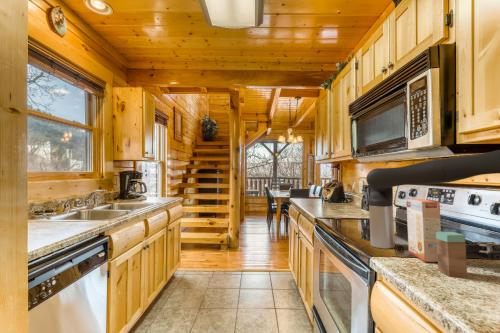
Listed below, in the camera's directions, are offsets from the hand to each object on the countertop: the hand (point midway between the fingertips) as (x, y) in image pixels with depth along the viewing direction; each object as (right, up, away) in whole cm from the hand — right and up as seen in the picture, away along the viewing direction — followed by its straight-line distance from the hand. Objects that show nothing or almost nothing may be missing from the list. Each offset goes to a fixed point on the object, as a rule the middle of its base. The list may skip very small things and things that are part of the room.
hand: (476, 251), depth 79 cm
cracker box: (-5, -8, +17) cm, 19 cm away
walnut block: (-7, -7, 0) cm, 10 cm away
